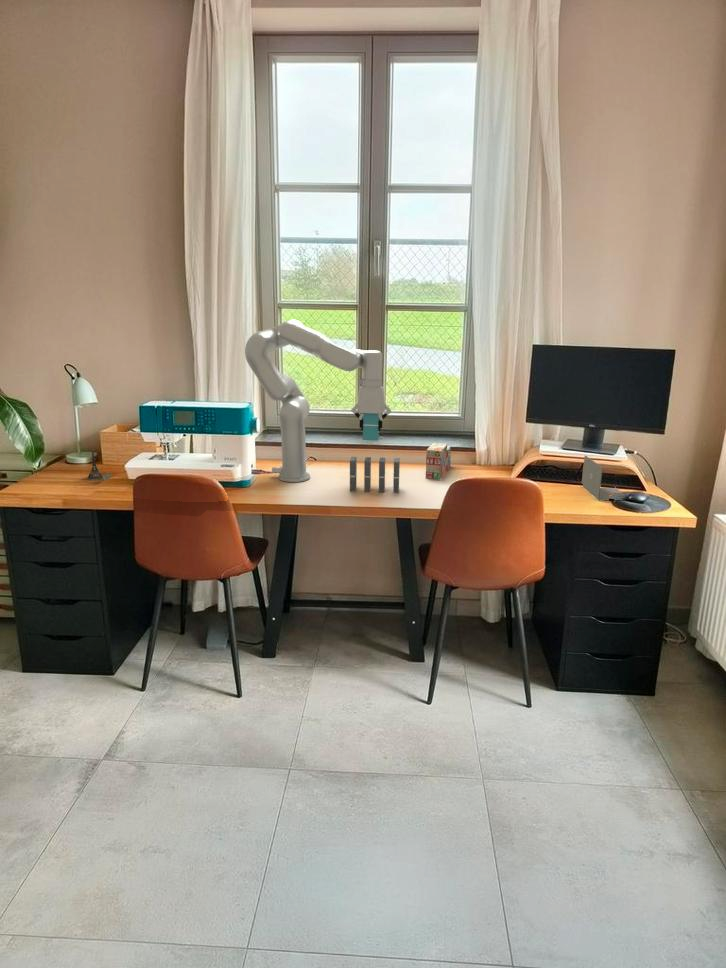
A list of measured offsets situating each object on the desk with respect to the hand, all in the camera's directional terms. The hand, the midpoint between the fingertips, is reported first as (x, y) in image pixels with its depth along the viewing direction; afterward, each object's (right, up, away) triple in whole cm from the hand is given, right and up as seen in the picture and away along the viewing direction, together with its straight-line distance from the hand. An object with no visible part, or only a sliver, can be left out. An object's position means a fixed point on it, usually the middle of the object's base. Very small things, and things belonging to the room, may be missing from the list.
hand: (370, 429), depth 257 cm
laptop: (+89, -25, -6) cm, 93 cm away
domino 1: (-7, -23, -3) cm, 24 cm away
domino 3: (+4, -23, -4) cm, 24 cm away
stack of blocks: (+29, -17, +20) cm, 39 cm away
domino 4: (+10, -24, -4) cm, 26 cm away
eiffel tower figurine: (-110, -20, +9) cm, 112 cm away
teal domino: (0, -4, +1) cm, 4 cm away
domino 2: (-1, -23, -3) cm, 24 cm away
